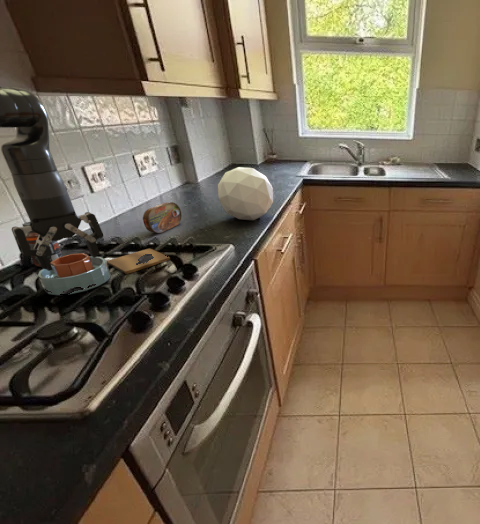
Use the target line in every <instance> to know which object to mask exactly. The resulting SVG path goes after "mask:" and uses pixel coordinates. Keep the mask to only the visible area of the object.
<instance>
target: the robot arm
mask: <svg viewBox="0 0 480 524" xmlns="http://www.w3.org/2000/svg"><path fill="white" fill-rule="evenodd" d="M11 128H15V137H14V138H13V139H12V140H9V141H6V142H4V143H2V144H1V145H0V151H1V154H2V157H3V159H4V161H5V164H6V166H7V168H8V171H9V172H10V174H11V178H12V181H13V185H14V188H15V191H16V192H17V195H18V197H19V199H20V200H21V203H22V205H23V208H24V210H25V213H26V214H27V217H28V219H29V222H30V226H25V227H23V226H13V227H11V232H12V234H13V237H14V240H15V243H16V245H17V247H18V250H19V253H20V254H21V255H23V256H25V257H31V256H36V258H37V261H38V263H39V265H40V266H41V267H40V268H42V269H46V270H48V271H50V270H53V269H52V267H51V265H50V262H49V260H48V258H47V256H46V255H45V254H44V252H45V250H46V248H47V247H48V246H49V244H50V242H51V241H57V242H58V241H62V240H63V239H71V238H73V237H74V236H75V235H77V236H78V237H80V238H82V239H84V240H86V241H85V244H86V246H87V249H88V252H89V254H90V256H92V257H94V258H95V257H99V255H100V250H99V246H98V244H97V240H99V239H102V238H104V232H103V230H102V228H101V226H100V223H99V221H98V218H97V217H96V215H95V214H94V213H92V212H89V211H86V212H84V214H80V215H78V214H77V213H76V210H75V207H74V205H73V202H72V200H71V197H70V194H69V192H68V188H67V186H66V184H65V182H64V180H63V178H62V176H61V174H60V172H59V170H58V167H57V165H56V162H55V159H54V157H53V155H52V152H51V150H50V147H51V146H50V132H49V130H50V127H49V117H48V113H47V110H46V108H45V106H44V104H43V102H42V101H41V100H40V98H39V97H37V95H36V94H35V93H33V92H32V91H30V90H28V89H26V88H23V87H22V88H21V87H13V86H0V129H11ZM82 221H83V222H84V223H85V224H87V225H89V228H90V231H91V232H92V233H90V234H88V233H86V232H85V231H83V230H82V229H79V227H80V225H81V223H82ZM30 231H34V232H35V233H37V234H39V236H38V238H37V240H36V244H35V246H34V248H33V249H30V248H29V245H28V242H27V239H26V237H28V236H29V232H30Z"/></svg>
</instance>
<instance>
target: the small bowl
mask: <svg viewBox="0 0 480 524" xmlns="http://www.w3.org/2000/svg"><path fill="white" fill-rule="evenodd" d="M51 265H52V268H53V270H54V272H55V274H56V277H57V278H64V277H69V276H75V275H79V274H82V273H85V272H89V271H91V270H93V269H94V268H93V266H92V263H91V260H90V258H89V255H88V254H87V253H70V254H67V255H63V256H62V257H59V258H57V259H55V260H53V261H52V262H51Z"/></svg>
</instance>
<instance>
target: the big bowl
mask: <svg viewBox="0 0 480 524" xmlns="http://www.w3.org/2000/svg"><path fill="white" fill-rule="evenodd" d="M88 256H89V255H88ZM89 258H90V260H91V263H92V266H93V268H94V269H93V270H91V271H89V272H85V273H82V274H79V275H75V276H69V277H64V278H57V277H56V274H55V272H54V270H50V271H48V270H46V269H43V268H42V269H41V270H39V272H38V274H37V277H38V279H39V281H40V284H41V287H42V288H43V290H44V292H45V293H46V294H48V295H52V296H53V295H54V296H61V295H60V294H61V292H63V291H66V290H68V289H70V288H74V287H81V288H85V289H83V290H78V291H74V292H72V293H70V294H69V295H73V294H77V293H78V294H79V293H83V292H86V291H89V290H92V289H94V288H97V287H99V286H101V285H103V284H105V283H106V282H107V281H108V280H109V279H110V278H111V272H110V269H109V265H108V263H107V260H106V259H105V258H103V257H101V256H98V257H95V258H94V257H92V256H91V255H90V256H89ZM51 267H52V265H51ZM52 269H53V268H52ZM92 284H96V285H95V286H92V287H89V288H87V287H88V286H89V285H92ZM45 289H46V290H48V291H51V292H52V293H51V292H47V291H46V290H45Z"/></svg>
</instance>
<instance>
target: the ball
mask: <svg viewBox="0 0 480 524" xmlns="http://www.w3.org/2000/svg"><path fill="white" fill-rule="evenodd" d="M217 194H218V201H219V203H220V204H221V206H222V208H223V210H224V212H225V213H226V214H228V215H230V216H232V217H234V218H236V219H238V220H245V221H255V220H257V219H259V218H261V217H263V216H264V215H267V213H268V211H269V209H270V208H271V207H272V205H273V204H274V188H273V185H272V183H270V181H269V179H268V177H267V176H266V175H265V174H263V173H262V172H260V171H258V170H257V169H255V168H253V167H243V166H238V167H235V168H232V169H230V170H227V171H225V172H224V174H223V175H222V177H221V179H220V181H219V182H218V183H217Z"/></svg>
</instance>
